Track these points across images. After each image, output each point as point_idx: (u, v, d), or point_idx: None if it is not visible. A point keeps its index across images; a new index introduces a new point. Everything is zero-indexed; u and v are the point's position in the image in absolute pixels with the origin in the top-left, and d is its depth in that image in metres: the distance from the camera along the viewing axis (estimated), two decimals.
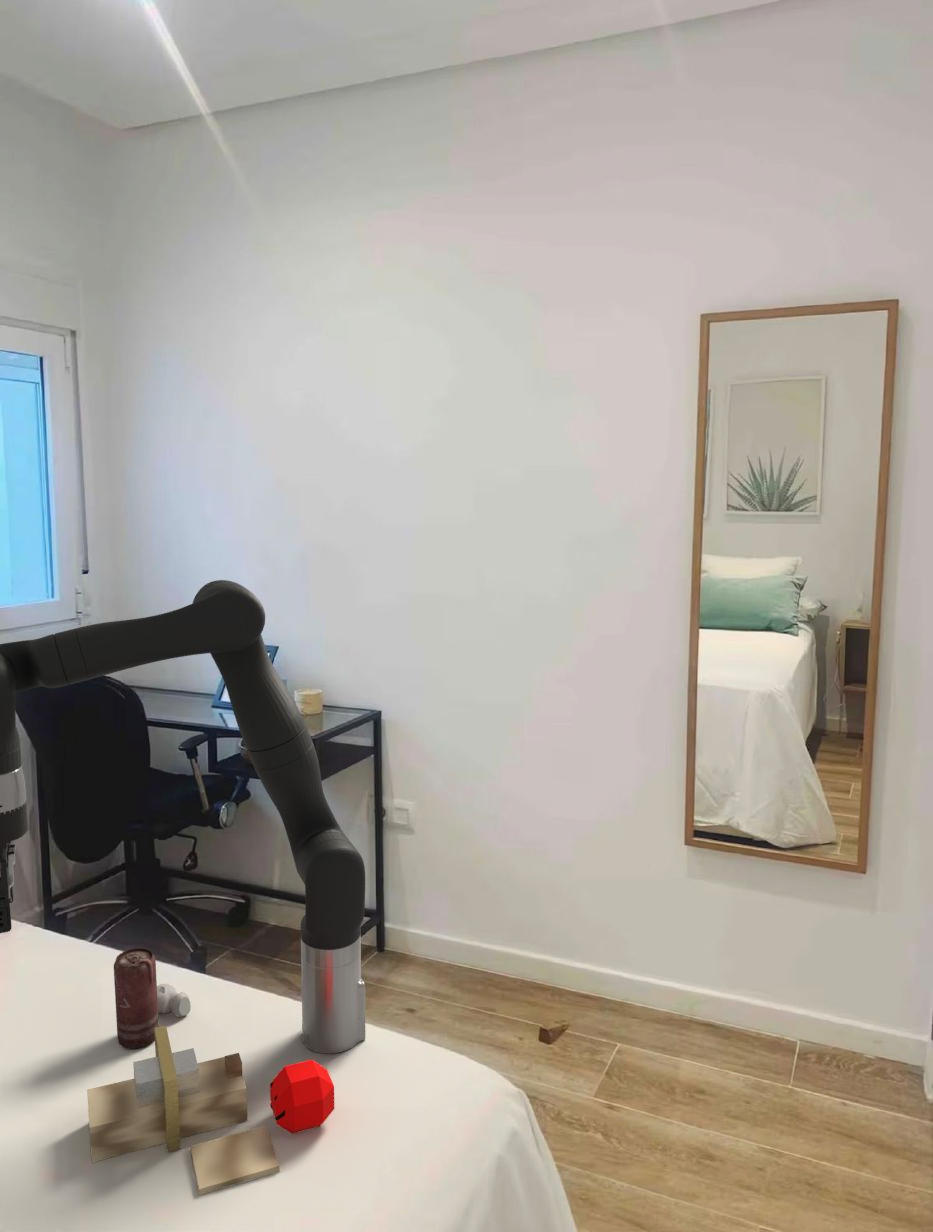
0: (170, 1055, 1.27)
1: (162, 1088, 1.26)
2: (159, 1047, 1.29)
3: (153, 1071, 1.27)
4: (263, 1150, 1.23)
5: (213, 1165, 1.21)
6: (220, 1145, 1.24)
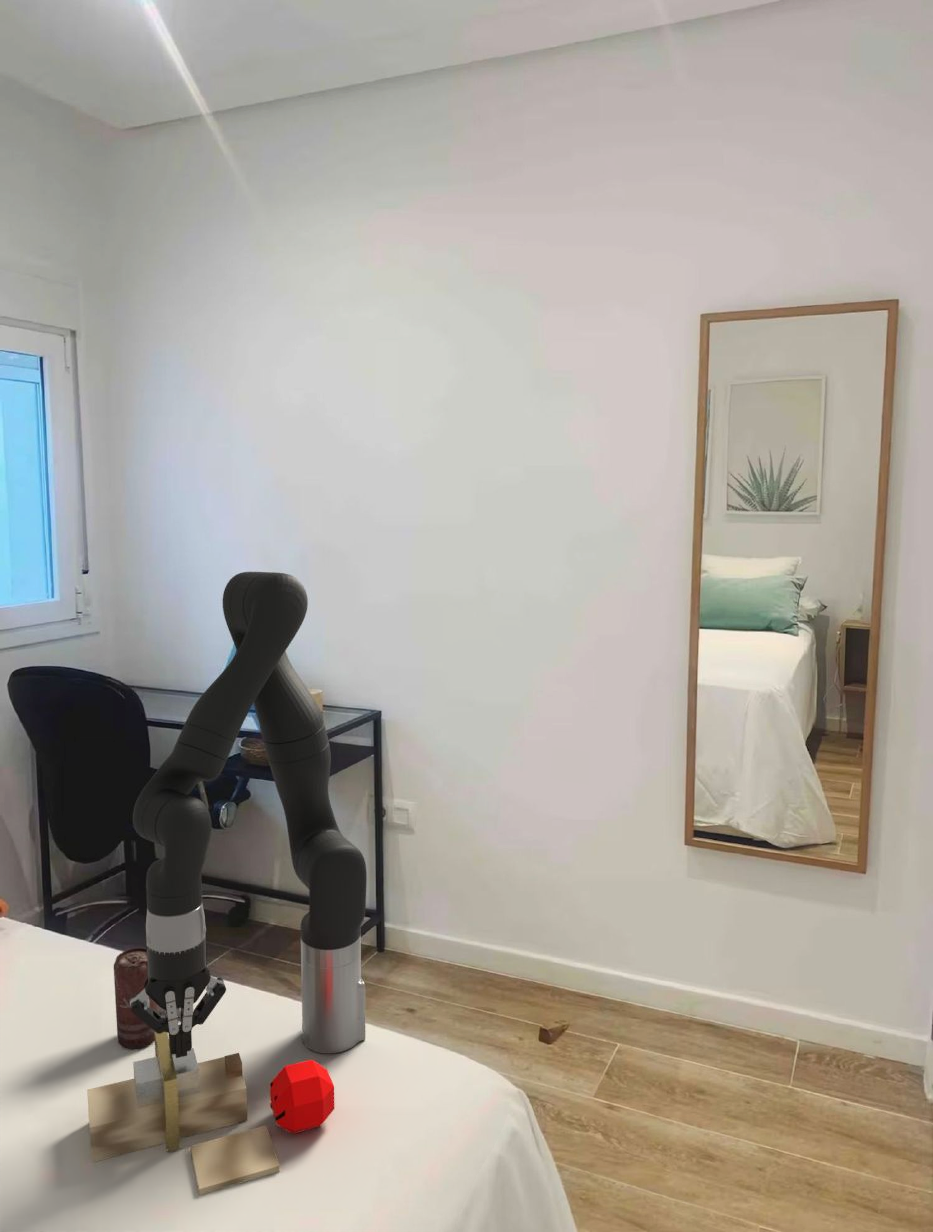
0: (170, 1055, 1.27)
1: (162, 1088, 1.26)
2: (159, 1047, 1.29)
3: (153, 1071, 1.27)
4: (263, 1150, 1.23)
5: (213, 1165, 1.21)
6: (220, 1145, 1.24)
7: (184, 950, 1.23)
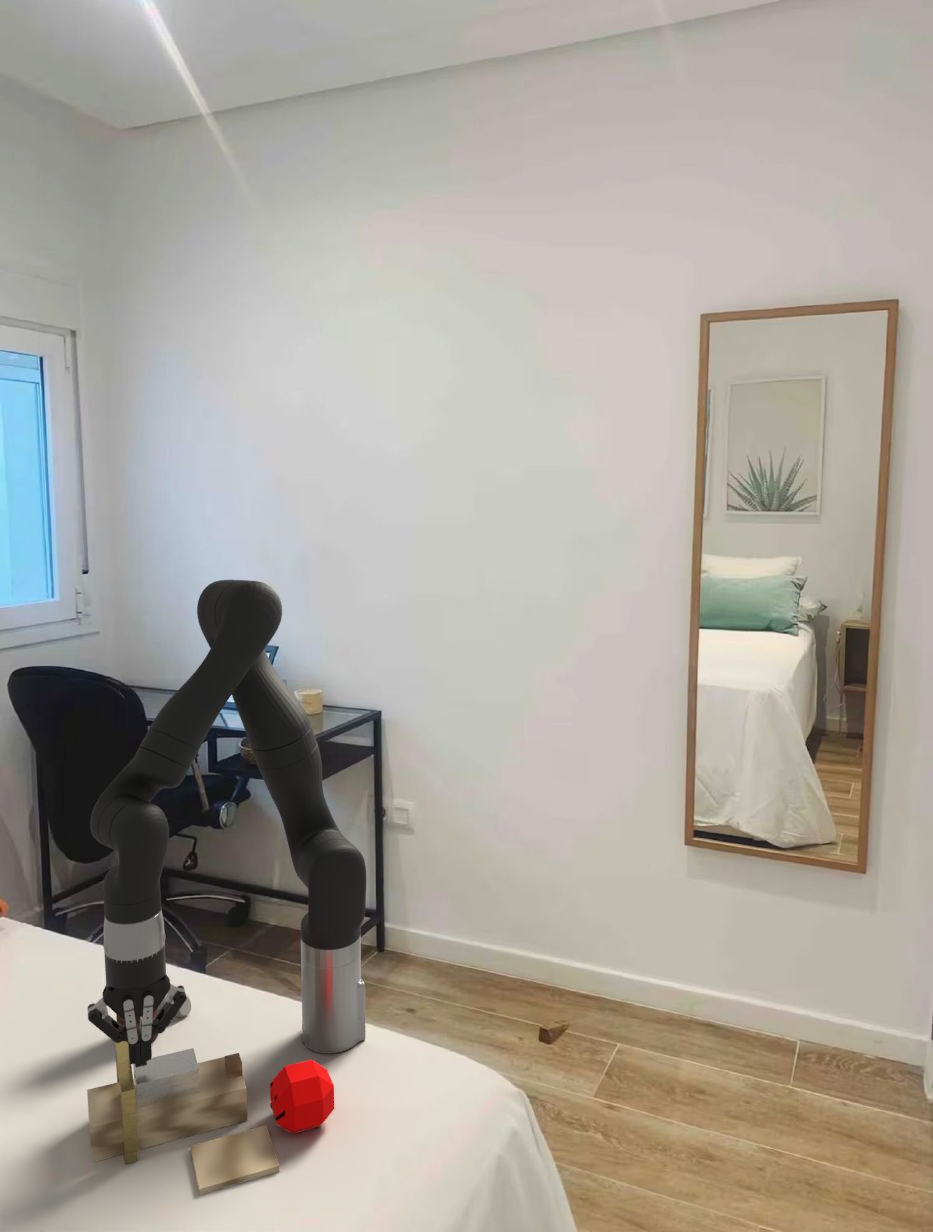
0: (129, 1065, 1.25)
1: (162, 1088, 1.26)
2: (118, 1056, 1.27)
3: (153, 1071, 1.27)
4: (263, 1150, 1.23)
5: (213, 1165, 1.21)
6: (220, 1145, 1.24)
7: (142, 958, 1.21)
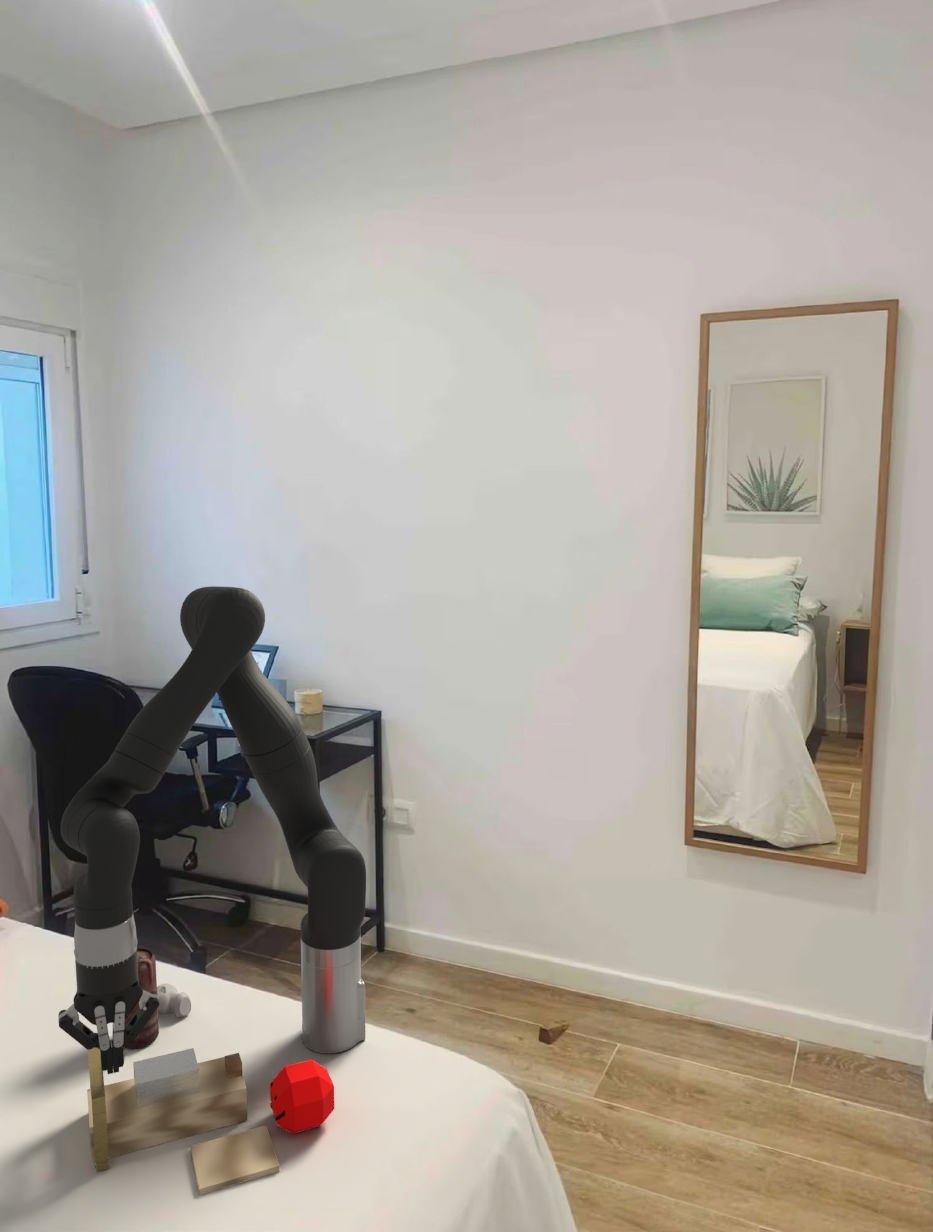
0: (100, 1071, 1.24)
1: (162, 1088, 1.26)
2: (90, 1063, 1.25)
3: (153, 1071, 1.27)
4: (263, 1150, 1.23)
5: (213, 1165, 1.21)
6: (220, 1145, 1.24)
7: (112, 964, 1.19)
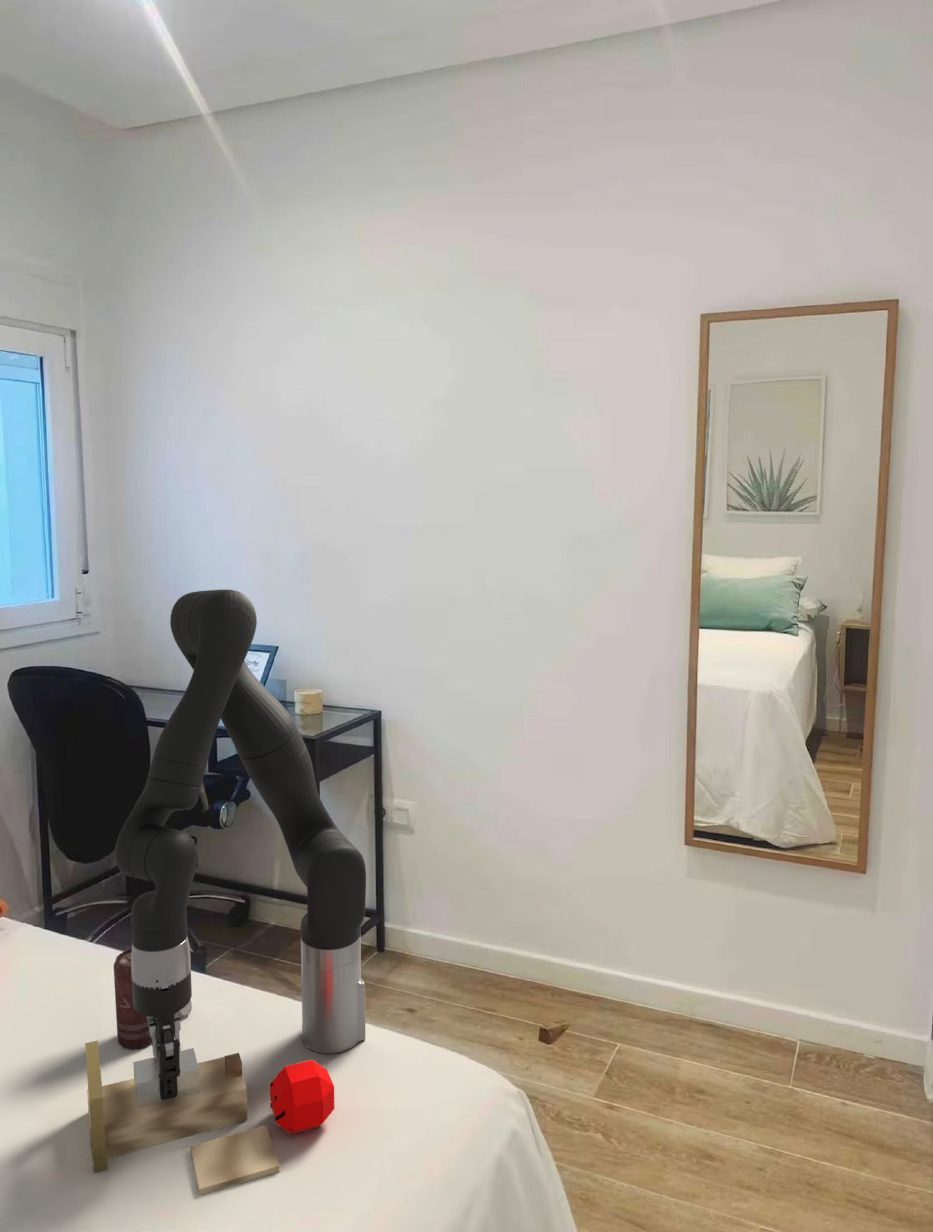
0: (98, 1072, 1.24)
1: None
2: (88, 1063, 1.25)
3: (153, 1071, 1.27)
4: (263, 1150, 1.23)
5: (213, 1165, 1.21)
6: (220, 1145, 1.24)
7: None
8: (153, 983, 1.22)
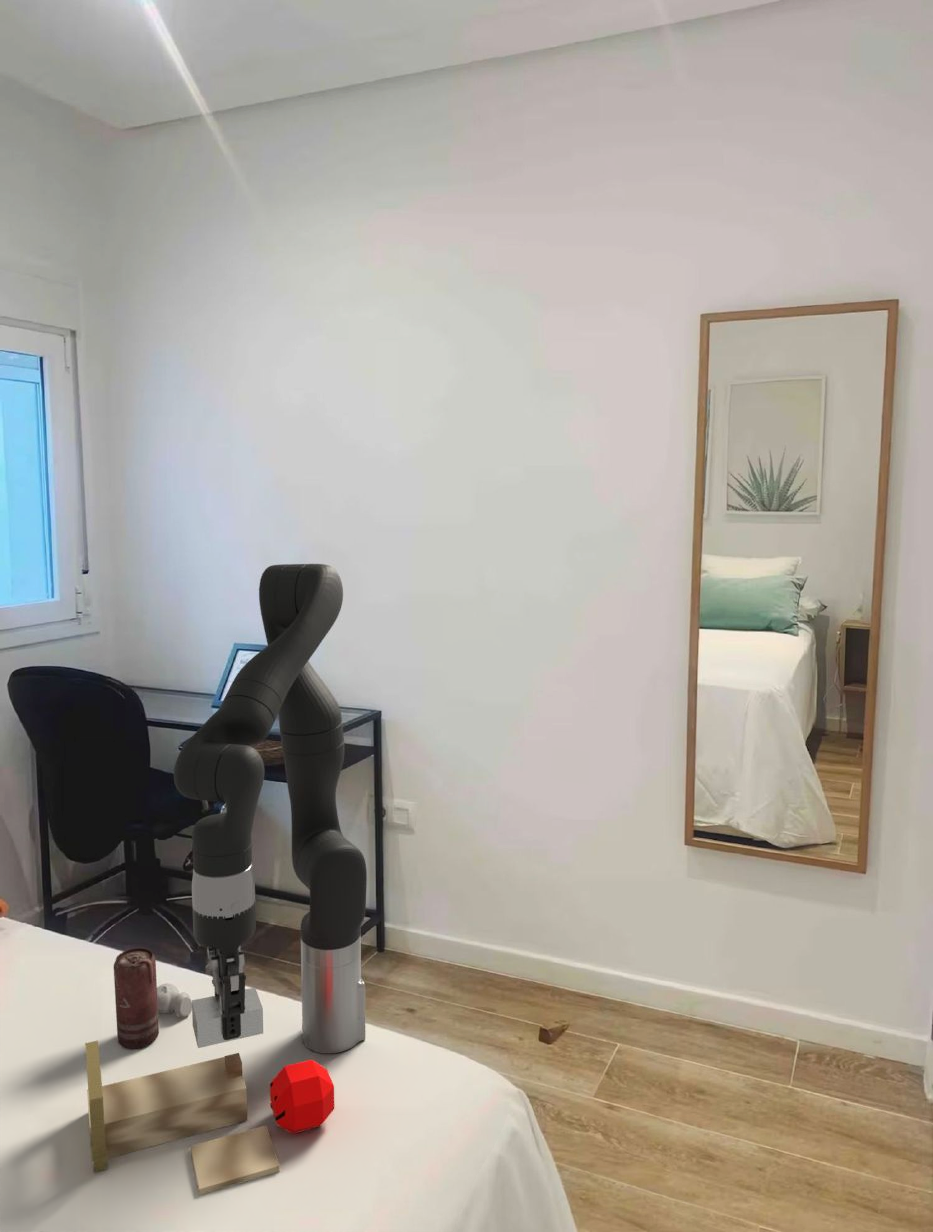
0: (98, 1072, 1.24)
1: None
2: (88, 1063, 1.25)
3: (214, 1009, 1.18)
4: (263, 1150, 1.23)
5: (213, 1165, 1.21)
6: (220, 1145, 1.24)
7: None
8: (217, 912, 1.13)
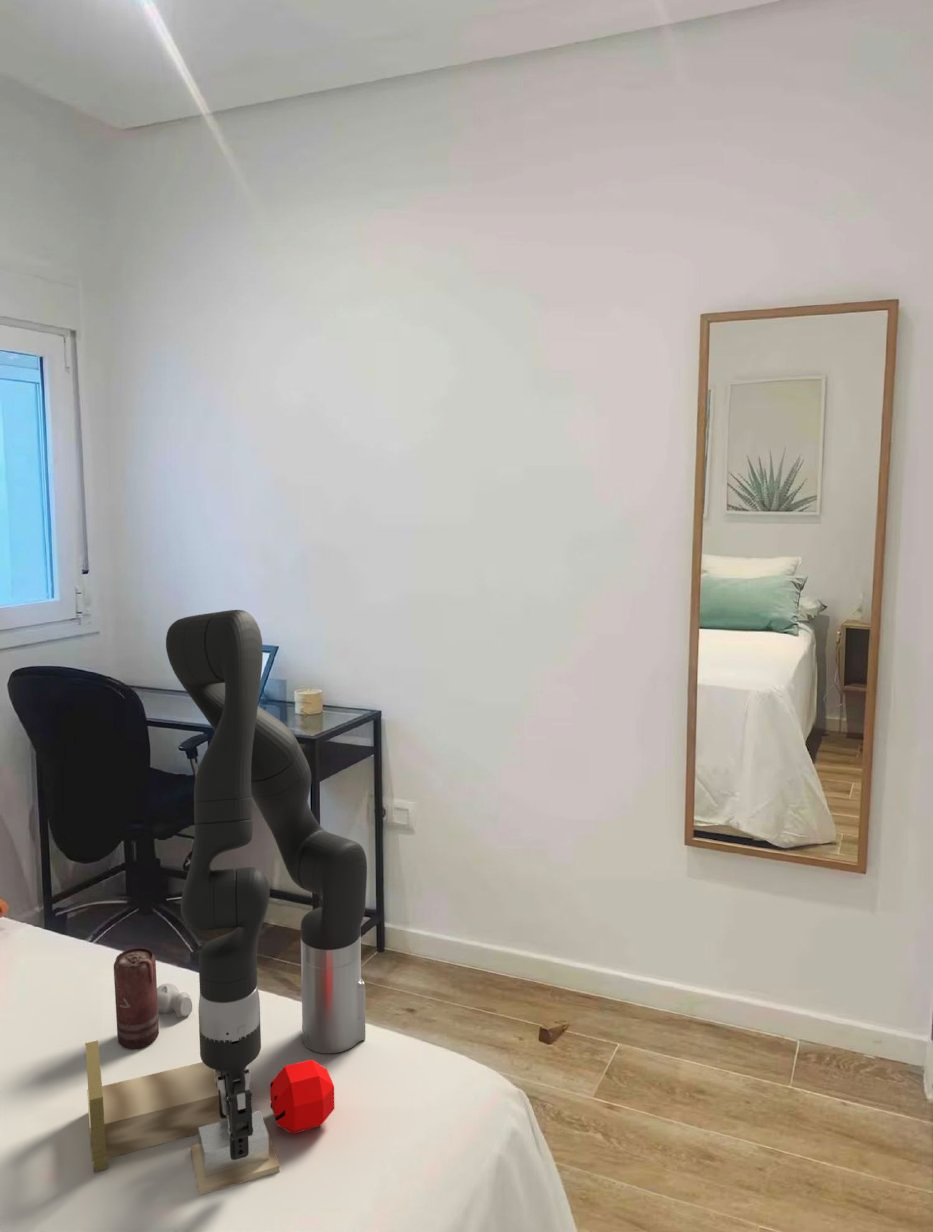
0: (98, 1072, 1.24)
1: None
2: (88, 1063, 1.25)
3: (220, 1137, 1.21)
4: None
5: None
6: None
7: None
8: (223, 1036, 1.15)
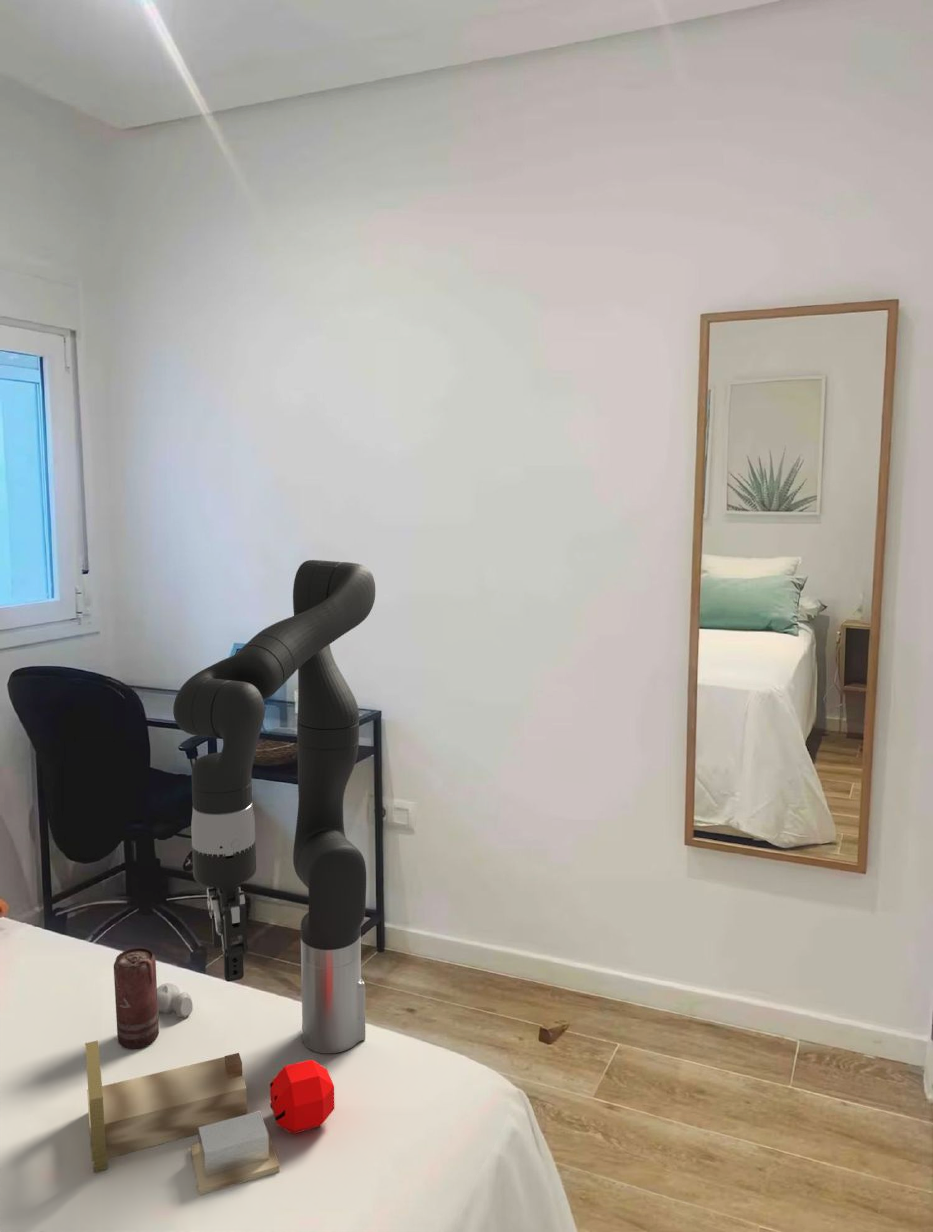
0: (98, 1072, 1.24)
1: (231, 1156, 1.20)
2: (88, 1063, 1.25)
3: (220, 1137, 1.21)
4: None
5: None
6: None
7: None
8: (217, 849, 1.11)
